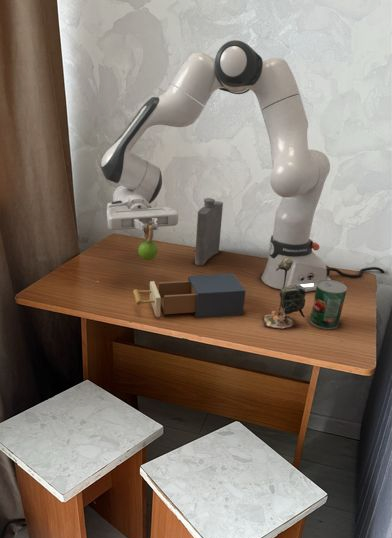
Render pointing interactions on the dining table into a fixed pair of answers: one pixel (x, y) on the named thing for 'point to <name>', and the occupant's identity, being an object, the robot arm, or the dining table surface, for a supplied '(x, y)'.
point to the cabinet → (218, 295)
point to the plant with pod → (287, 300)
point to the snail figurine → (148, 244)
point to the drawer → (170, 297)
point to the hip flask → (208, 230)
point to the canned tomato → (328, 304)
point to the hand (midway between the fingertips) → (149, 227)
